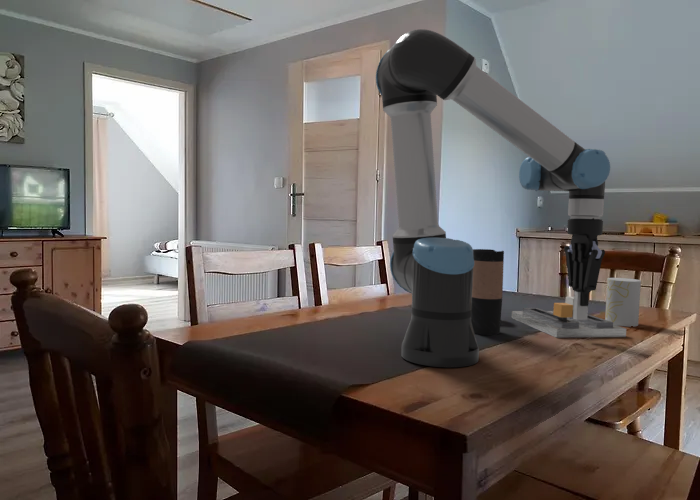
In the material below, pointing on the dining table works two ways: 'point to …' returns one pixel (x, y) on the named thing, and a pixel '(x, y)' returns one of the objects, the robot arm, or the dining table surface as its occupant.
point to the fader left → (563, 311)
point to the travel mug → (487, 291)
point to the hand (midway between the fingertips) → (580, 319)
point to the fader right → (570, 301)
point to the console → (567, 324)
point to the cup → (623, 301)
